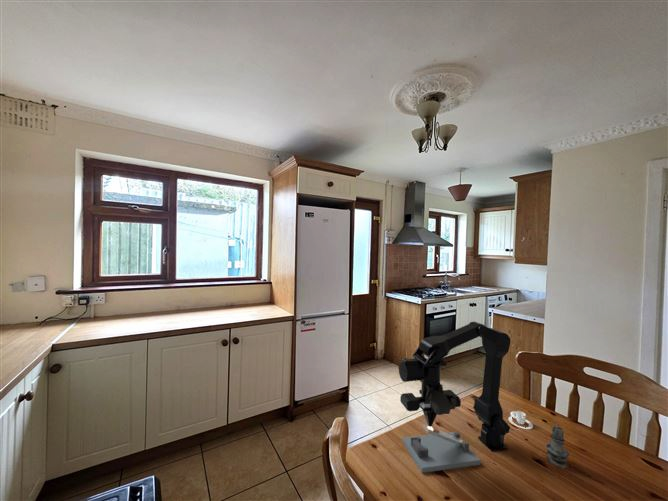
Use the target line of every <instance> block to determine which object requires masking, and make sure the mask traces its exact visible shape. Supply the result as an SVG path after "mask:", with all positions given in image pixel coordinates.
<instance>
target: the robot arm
mask: <svg viewBox="0 0 668 501" xmlns="http://www.w3.org/2000/svg"><path fill="white" fill-rule="evenodd" d="M477 338H481V344H482V347H483V350H484V352H485V360H484V368H483V369H484V370H483V380H482V381H483V382H482V390H481V394H480V396H478V397H474V399H473V400H474V401H473V402H474V403H473V404H474V405H473V409H474V413H475V415H476V417H477V419H478V420H479V421H480V422H482V423H481V428H480V435H479V436H478V437H477V438H478V440H480V442H482V443H483V444H484V446H485V447H487V449H488V450H490V451H491V452H495V451H502V450H508V446H507V445H506V444H505V436H506V434H509V432H510V429H511V426H510V425H509V424H508V423H507V422H506V421H505V420H504V413H503V412H504V410H503V408H502V405H501V402H500V400H499V398H500V396H499V395H500V387H501V378H502V364H503V358H504V357H505V356H506V355H507V354H508V352H509V350H510V346H511V342H512V341H511V337H510V336H509V335H508V333H505V332H504V331H500V330H497V329H496V328H495V329H494V328H491V327H487V326H486V325H485V324H483V323H479V322H477V321H471V322H469V323H468V324H465V325H464V326H461V327H459V328H456V329H455V330H452V331H449V332H447V333H446V334H444V335H443V334H442V335H431V336H428V337H424V338H423V339H421V340H420V343H419V346H418V347H417V348H416V349H415V351H414V352H413V354H412V357H413V358H402V359H401V360H402V361H401V362H400V363H399V366H398V373H399V378H400V379H401V381H402V382H404V383H407V382H408V383H409V382H417V381H419V382H420V383H421V387H420V389H419V392H418V393H419V394H420V396H415V394H413V393H412V392H408V393H407V392H405V393H401V394H400V403H401V404H402V405H403V407H404V408H405V409H406V411H407V412H417V411H419V409H421V410H422V412H423V415H424V419H425V420H426V423H427V424H426V425H428V426H429V427H430V426H432V425H434V422H435V419H436V417H437V416H441V415H449V414H450V413H451V410H455V409H456V408H460V407H461V406H462V405H461V402H462V401H461V398H460V397H459V395H457V394H456V393H455V392H454V391H453V390H451V389H445V390H444V388H443V384H442V383H441V367H444V366H445V367H446V366H448V365H447V363H446V362H445V361H444V358H445V357H447V356H448V355H449V353H450V352H451V350H453V349H454V348H458V347H459V346H461V345H464V344H466V343H468V342H471V341H472V340H475V339H477Z"/></svg>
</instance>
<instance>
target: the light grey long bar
mask: <svg viewBox="0 0 668 501" xmlns="http://www.w3.org/2000/svg"><path fill="white" fill-rule="evenodd" d="M422 427H423V429H424V430H425V431H426V433H427V434H428V435H431V434H432V435H434V436H437V437H439V438H442V439H444V440H447V441H449V442H452V443H454V444H457V445H459V446H462V448H463V442H465V441H464V440H462V438H461V436H460V437H455V436H453V435H450V434H448V433H449V432H446V431H442V430H440V429H438V427H437V426H436V425H434V424H433V425H432V426H430V427H429V426H428V424H425V423H424V424H423V425H422Z"/></svg>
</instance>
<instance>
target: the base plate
mask: <svg viewBox="0 0 668 501" xmlns="http://www.w3.org/2000/svg"><path fill="white" fill-rule="evenodd" d="M447 433H448V434H450V435H453V436H455V437H460V438H461V433H460V432H459V431H450V432H447ZM402 443H403V445H404V446H405V448H406V450H407V451H408V453H409V455H410V456H411V458H412V460H413V461H414V463H415V464H416V467H417V468H418V469H419V472H420V473H422V474H423V473H424V474H425V473H431V472H439V471H445V470H453V469H460V468H468V467H473V466H481V459H480V458H479V457H478V456H477V455H476V454H475V452H474V451H473V450H472V449H471V448H470V442H468V441H464V442H463V448H462V446H459V445H457V444H454V443H452V442H449V441H447V440H444V439H442V438H439V437H437V436H434V435H432V434H422V435H414V436H413V435H412V436H405V437H402Z"/></svg>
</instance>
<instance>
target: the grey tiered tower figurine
mask: <svg viewBox="0 0 668 501" xmlns="http://www.w3.org/2000/svg"><path fill="white" fill-rule="evenodd" d="M564 433H565V431H564V429H563V428H562V427H560V425H559V423H557V424H556V425H553V426H552V427H551V434H550V438H551V440H550V441H551V442H550V443H546V444H545V448H546V451H547V453H548V454H546V456H545V458H546V459H547V461H548V462H550V464H552V465H554V466H556V467H558V468H563V469H566V468H568V466H569V465H568V462H567V460H568V458H569V457H570V453H569V451H568V450H567V449H565V447H564V446H565V444H564V443H566V440H565V439H564Z"/></svg>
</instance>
